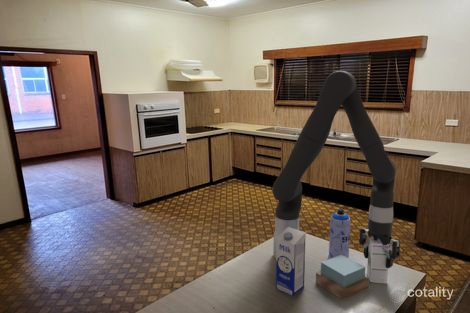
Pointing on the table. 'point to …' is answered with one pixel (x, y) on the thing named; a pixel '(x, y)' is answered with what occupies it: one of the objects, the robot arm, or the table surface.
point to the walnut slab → (340, 290)
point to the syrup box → (377, 263)
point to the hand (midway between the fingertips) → (377, 262)
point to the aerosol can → (339, 234)
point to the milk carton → (290, 261)
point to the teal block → (343, 270)
